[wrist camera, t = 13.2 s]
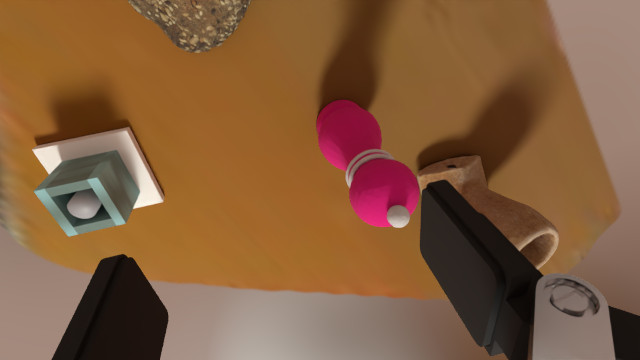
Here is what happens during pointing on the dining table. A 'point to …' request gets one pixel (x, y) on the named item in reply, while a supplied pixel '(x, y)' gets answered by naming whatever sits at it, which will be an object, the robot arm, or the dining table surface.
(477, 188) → the beige hollow piece
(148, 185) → the shaft base
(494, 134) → the dining table surface
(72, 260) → the dining table surface
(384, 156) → the pepper mill
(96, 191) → the collar
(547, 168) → the dining table surface
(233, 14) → the bread roll
